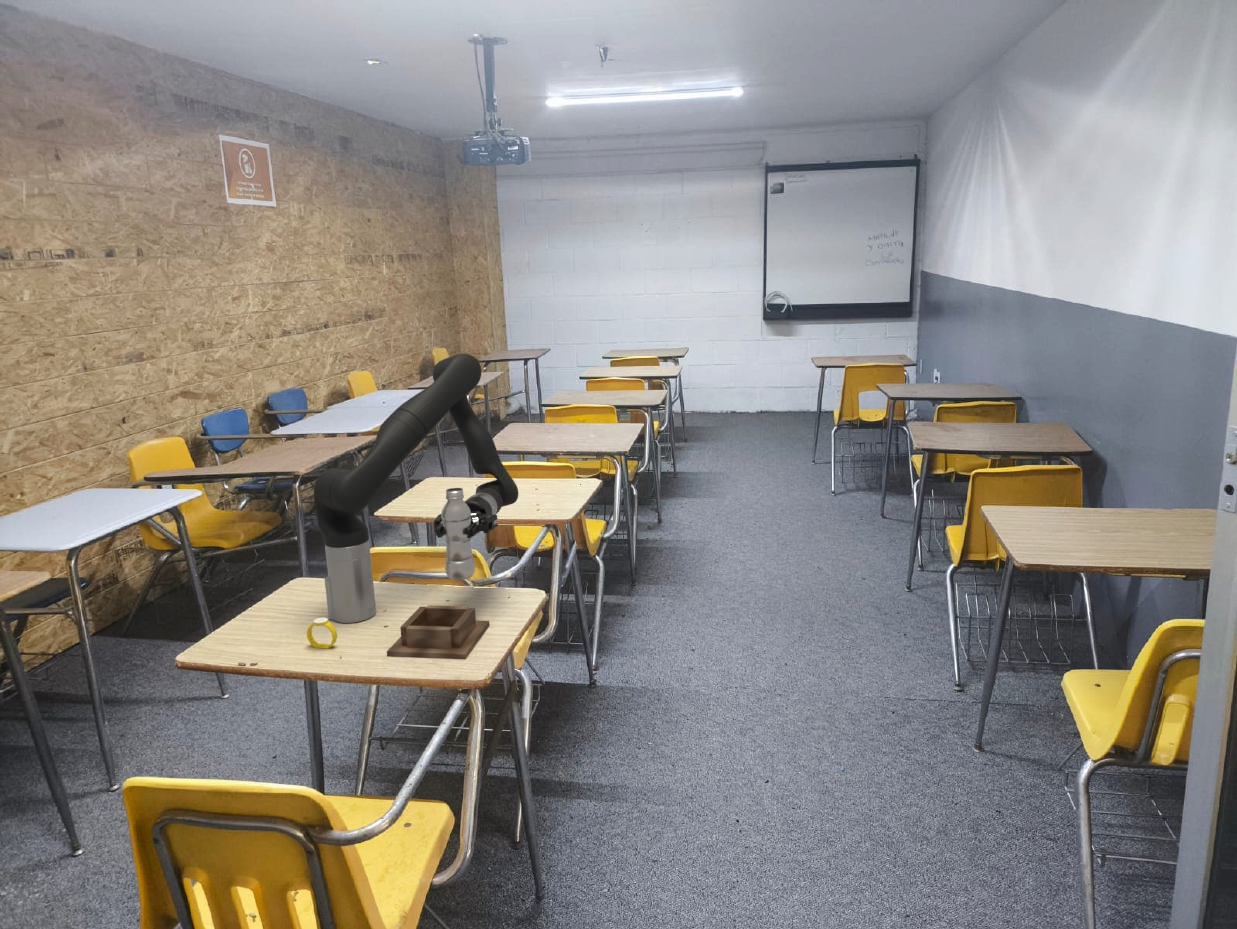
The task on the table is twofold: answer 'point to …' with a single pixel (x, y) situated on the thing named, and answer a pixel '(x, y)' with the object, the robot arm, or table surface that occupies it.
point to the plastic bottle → (457, 536)
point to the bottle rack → (439, 633)
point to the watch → (320, 623)
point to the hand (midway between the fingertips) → (453, 533)
